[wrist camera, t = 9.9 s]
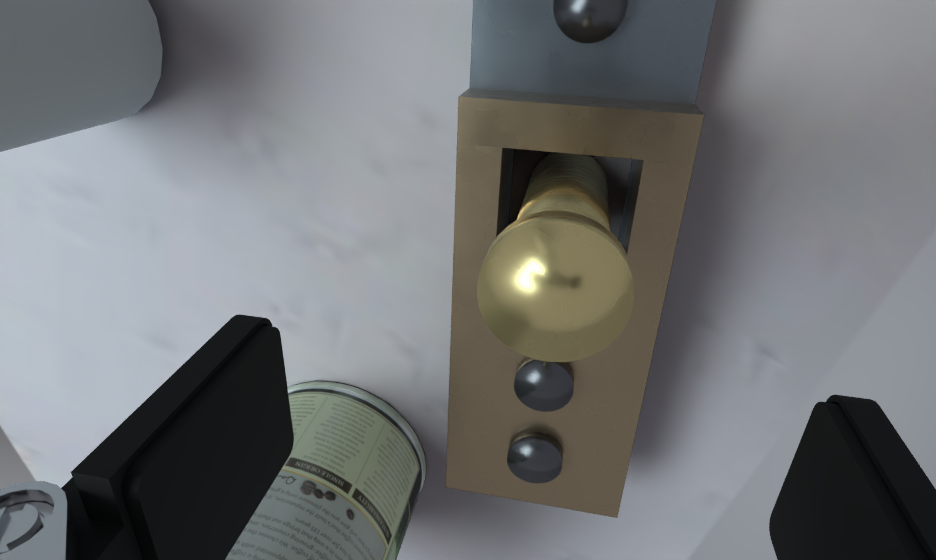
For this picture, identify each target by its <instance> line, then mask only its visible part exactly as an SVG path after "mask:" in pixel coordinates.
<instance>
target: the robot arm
mask: <svg viewBox="0 0 936 560" xmlns="http://www.w3.org/2000/svg"><path fill="white" fill-rule="evenodd" d="M293 443H294V433H293V426H292V419H291V411H290V404H289V396H288V389H287V381H286V374H285V366H284V359H283V351H282V344H281V337H280V332H279V330H278V328H276V327H272V323H271V322H270V320H269V319H267V318H261V317H254V316H246V315H235V316H234V317H232V318H231V319H230V320H229V321H228V322H227V323H226V324H225V325H224V326H223V327H222V328H221V329H220V330H219V331H218V332H217V333H216V334H215V335H214V336H213V337H212V338H210V339H209V340H208V341H207V342H206V343H205V344H204V345H203V346H202V347H201V348H200V349H199V350H198V351H197V352H196V353H195V354H194V355H193V356H192V357H191V358H190V359H189V360H188V361H186V362H185V363H184V364H183V365H182V366H181V367H180V368H179V369H178V370H177V371H176V372H175V373H174V374H173V375H172V376H171V377H170V378H169V379H168V380H167V381H166V382H165V383H164V384H162V385H161V386H160V387H159V388H158V389H157V390H156V391H155V392H154V393H153V394H152V395H151V396H150V397H149V398H148V399H147V400H146V401H145V402H144V403H143V404H142V405H141V406H140V407H138V408H137V409H136V410H135V411H134V412H133V413H132V414H131V415H130V416H129V417H128V418H127V419H126V420H125V421H124V422H123V423H122V424H121V425H120V426H119V427H118V428H117V429H116V430H114V431H113V432H112V433H111V434H110V435H109V436H108V437H107V438H106V439H105V440H104V441H103V442H102V443H101V444H100V445H99V446H98V447H97V448H96V449H95V450H94V451H93V452H92V453H90V454H89V455H88V456H87V457H86V458H85V459H84V460H83V461H82V462H81V463H80V464H79V465H78V466H77V467H76V468H75V469H74V470H73V471H72V472H71V474H72V476H73V477H72V478H71V479H70V480H69V481H68V482H67V483H66V484H65V485H64V486H63V487H62V488H60V487H59V486H57V485H55V484H52V483H48V482H45V481H32V482H24V483H19V484H14V485H10V486H7V487H5V488H2V489H0V560H225V559H226V557H227V556H228V554H229V552H230V551H231V549H232V548H233V546H234V544H235V543H236V541H237V540H238V538H239V536H240V535H241V533H242V532H243V530H244V528H245V527H246V525H247V524H248V522H249V520H250V519H251V517H252V516H253V514H254V512H255V511H256V509H257V508H258V506H259V504H260V503H261V501H262V500H263V498H264V496H265V495H266V493H267V492H268V490H269V488H270V487H271V485H272V484H273V482H274V480H275V479H276V477H277V475H278V474H279V472H280V471H281V469H282V467H283V466H284V464H285V463H286V461H287V459H288V458H289V456H290V454H291V451H292V448H293ZM769 525H770V527H769V528H770V536H771V540H772V544H773V547H774V550H775V553H776V556H777V559H778V560H936V489H935V488H934V486H933V485H932V483H931V482H930V480H929V479H928V477H927V476H926V475H925V473H924V472H923V470H922V469H921V467H920V465H919V464H918V462H917V461H916V460H915V458H914V457H913V455H912V454H911V452H910V451H909V449H908V448H907V446H906V445H905V443H904V442H903V440H902V439H901V438H900V436H899V434H898V433H897V431H896V430H895V429H894V427H893V425H892V424H891V422H890V421H889V419H888V418H887V416H886V415H885V414H884V412H883V411H882V409H881V408H880V406H879V405H878V404H877V403H876V402H875V401H873V400H871V399H863V398H856V397H848V396H840V395H832V396H830V397H829V399H827V401H826V402H818V403H817V404H816V405H815V406H814V408H813V411H812V413H811V416H810V418H809V421H808V423H807V426H806V428H805V431H804V433H803V436H802V438H801V441H800V444H799V446H798V448H797V451H796V453H795V456H794V458H793V461H792V464H791V466H790V469H789V471H788V474H787V476H786V478H785V481H784V483H783V486H782V489H781V491H780V493H779V496H778V499H777V501H776V504H775V506H774V509H773V511H772V514H771V517H770V524H769Z"/></svg>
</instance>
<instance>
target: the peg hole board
mask: <svg viewBox="0 0 936 560" xmlns="http://www.w3.org/2000/svg"><path fill="white" fill-rule="evenodd" d="M715 5H716V0H473V19H472V43H471V68H470V88H469V89H468V90H467V91H465V92H464V93H463V94H461V95H460V96H459V101H458V132H457V162H456V193H455V223H454V254H453V285H452V315H451V346H450V377H449V407H448V438H447V469H446V487H448V488H454V489H459V490H465V491H470V492H476V493H481V494H487V495H493V496H498V497H504V498H509V499H515V500H521V501H526V502H532V503H537V504H543V505H549V506H554V507H560V508H565V509H571V510H576V511H582V512H588V513H593V514H599V515H604V516H610V517H616V518H617V516H618V512H619V507H620V502H621V498H622V493H623V488H624V484H625V479H626V475H627V470H628V465H629V461H630V456H631V452H632V447H633V442H634V438H635V433H636V428H637V424H638V419H639V415H640V410H641V405H642V401H643V396H644V391H645V387H646V382H647V378H648V373H649V368H650V364H651V359H652V355H653V350H654V345H655V341H656V336H657V331H658V327H659V322H660V318H661V313H662V308H663V304H664V299H665V294H666V290H667V285H668V281H669V276H670V271H671V267H672V262H673V257H674V253H675V248H676V244H677V239H678V234H679V230H680V225H681V221H682V216H683V211H684V207H685V202H686V197H687V193H688V188H689V184H690V179H691V174H692V170H693V165H694V160H695V156H696V151H697V147H698V142H699V137H700V133H701V128H702V124H703V119H704V114H703V113H702V112H701V111H700V110H699V108H698V107H697V106H696V105H695V101H696V97H697V92H698V87H699V82H700V77H701V72H702V68H703V63H704V58H705V53H706V48H707V44H708V39H709V34H710V29H711V24H712V20H713V15H714V10H715ZM514 149H525V150H536V151H548V152H559V153H571V154H582V155H593V156H605V157H616V158H628V159H632V164H631V170H630V176H629V182H628V188H627V194H626V200H625V206H624V211H623V217H622V223H621V229H620V235H619V242H620V243H621V245H622V246H623V248H624V250H625V252H626V254H627V256H628V259H629V262H630V266H631V271H632V278H633V286H634V303H633V309H632V313H631V316H630V318H629V321H628V323H627V325H626V326H625V328H624V330H623V331H622V333H621V334H620V335H619V336H618V337H617V338H616V339H615V340H614V341H613V342H612V343H611V344H610V345H609V346H607V347H606V348H604V349H603V350H602V351H600V352H598V353H596V354H594V355H592V356H589V357H586V358H584V359H580V360H576V361H569V362H547V361H541V360H536V359H533V358H530V357H527V356H524V355H522V354H520V353H518V352H516V351H514V350H512V349H511V348H509V347H508V346H506V345H505V344H504V343H502V342H501V341H500V340H499V339H498V338H497V337H496V336H495V335H494V334H493V332H492V331H491V330H490V329H489V327H488V325H487V324H486V322H485V321H484V318H483V316H482V314H481V311H480V308H479V305H478V299H477V282H478V276H479V273H480V269H481V267H482V265H483V262H484V260H485V257H486V255H487V253H488V250H489V248H490V246H491V245H492V243H493V241H494V240H495V239H496V237H497V236H498V235H499V234H500V233H501V232H502V231H503V230H504V229H505V228H506V227H507V226H508V220H509V207H510V194H511V181H512V167H513V154H514Z"/></svg>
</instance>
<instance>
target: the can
mask: <svg viewBox="0 0 936 560" xmlns="http://www.w3.org/2000/svg"><path fill="white" fill-rule="evenodd" d="M162 53H163V47H162V42H161V37H160V32H159V27H158V22H157V18H156V16H155V14H154V11H153V9H152V7H151V5H150V3H149V1H148V0H0V152H2V151H5V150H9V149H13V148H16V147H20V146H24V145H28V144H31V143H35V142H39V141H42V140H46V139H50V138H54V137H57V136H61V135H65V134H68V133H72V132H76V131H80V130H83V129H87V128H91V127H94V126H98V125H102V124H106V123H109V122H113V121H116V120H119V119H122V118H125V117H128V116H131V115H134V114H136V113H137V112H138V111H139V110H140V109H141V108H142V107H143V106H144V105H145V104H146V103H148V102H149V101H150V100H151V98H152V96H153V94H154V91H155V89H156V87H157V84H158V82H159V80H160V77H161V67H162Z"/></svg>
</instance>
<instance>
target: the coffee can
mask: <svg viewBox="0 0 936 560" xmlns="http://www.w3.org/2000/svg"><path fill="white" fill-rule="evenodd" d="M287 389H288V396H289V404H290V411H291V419H292V426H293V433H294V443H293V448H292V451H291V454H290V456H289V458H288V459H287V461H286V463H285V464H284V466H283V467H282V469H281V471H280V472H279V474H278V475H277V477H276V479H275V480H274V482H273V484H272V485H271V487H270V488H269V490H268V492H267V493H266V495H265V496H264V498H263V500H262V501H261V503H260V504H259V506H258V508H257V509H256V511H255V512H254V514H253V516H252V517H251V519H250V520H249V522H248V524H247V525H246V527H245V528H244V530H243V532H242V533H241V535H240V536H239V538H238V540H237V541H236V543H235V544H234V546H233V548H232V549H231V551H230V552H229V554H228V556H227V557H226V559H225V560H396V559H397V556H398V553H399V550H400V547H401V544H402V541H403V538H404V536H405V533H406V530H407V527H408V524H409V522H410V519H411V516H412V513H413V510H414V507H415V504H416V501H417V498H418V495H419V494H420V492H421V490H422V487H423V484H424V481H425V475H426V462H425V456H424V451H423V448H422V446H421V444H420V442H419V439H418V438H417V436H416V434H415V432H414V431H413V429H412V428H411V427H410V425H409V424H408V423H407V422H406V420H405V419H404V418H403V417H402V416H401V415H400V414H399V413H398V412H397V411H396V410H394V409H393V408H392V407H391V406H390V405H388V404H387V403H386V402H384V401H383V400H381V399H379V398H377V397H375V396H373V395H372V394H370V393H368V392H366V391H364V390H361V389H359V388H356V387H353V386H349V385H345V384H341V383H334V382H322V381H313V382H308V383H302V384H298V385H294V386H291V387H289V388H287Z"/></svg>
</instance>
